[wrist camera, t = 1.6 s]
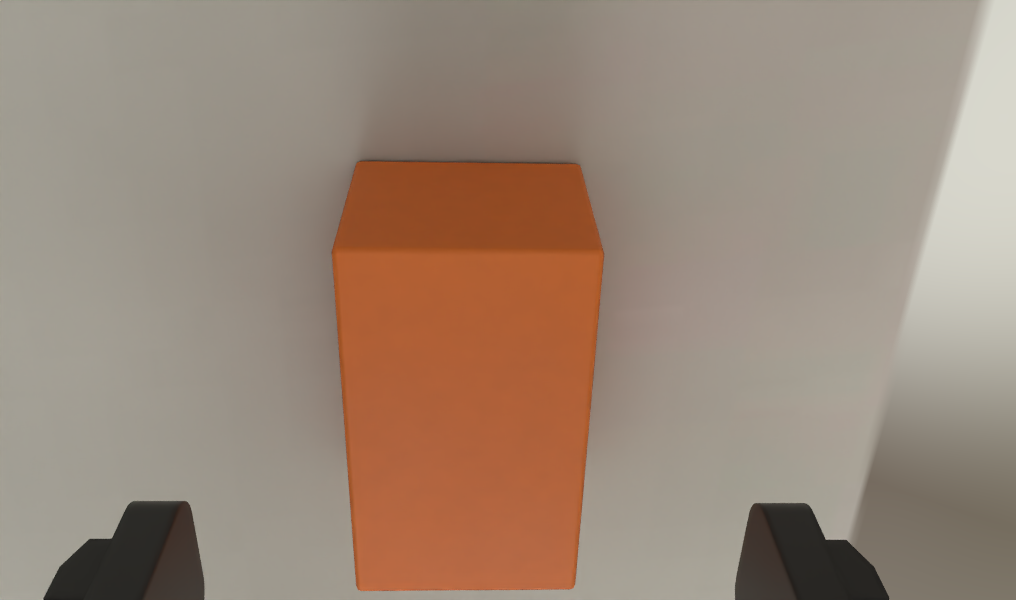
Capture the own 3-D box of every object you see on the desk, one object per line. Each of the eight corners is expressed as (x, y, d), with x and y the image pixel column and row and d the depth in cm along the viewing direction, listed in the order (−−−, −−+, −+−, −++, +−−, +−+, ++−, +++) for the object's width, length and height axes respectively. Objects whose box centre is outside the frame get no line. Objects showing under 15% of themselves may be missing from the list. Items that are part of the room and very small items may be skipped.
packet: (355, 159, 17) (330, 248, 14) (580, 162, 17) (604, 251, 14) (373, 467, 20) (356, 592, 17) (559, 466, 20) (575, 591, 17)
